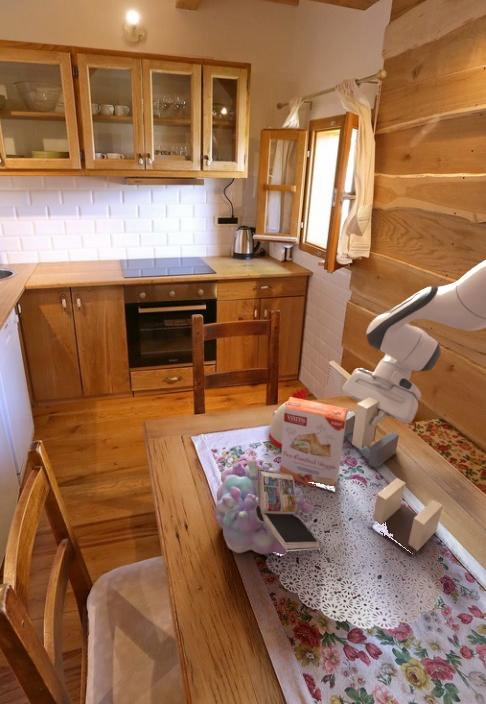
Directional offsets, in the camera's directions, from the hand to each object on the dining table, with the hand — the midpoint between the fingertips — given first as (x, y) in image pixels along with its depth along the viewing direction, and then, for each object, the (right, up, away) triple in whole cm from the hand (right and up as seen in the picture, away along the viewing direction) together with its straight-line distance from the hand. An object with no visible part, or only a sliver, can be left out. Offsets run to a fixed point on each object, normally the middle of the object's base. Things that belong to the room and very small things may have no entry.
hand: (364, 421), depth 111 cm
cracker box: (-17, -12, -8) cm, 23 cm away
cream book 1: (-2, -15, -20) cm, 26 cm away
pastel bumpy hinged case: (-30, -18, -23) cm, 42 cm away
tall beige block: (0, -7, +3) cm, 7 cm away
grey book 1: (-4, -6, +8) cm, 11 cm away
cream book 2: (+3, -18, -26) cm, 32 cm away
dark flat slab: (0, -18, -23) cm, 29 cm away
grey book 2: (+4, -10, -1) cm, 11 cm away
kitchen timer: (-18, -6, +8) cm, 21 cm away
